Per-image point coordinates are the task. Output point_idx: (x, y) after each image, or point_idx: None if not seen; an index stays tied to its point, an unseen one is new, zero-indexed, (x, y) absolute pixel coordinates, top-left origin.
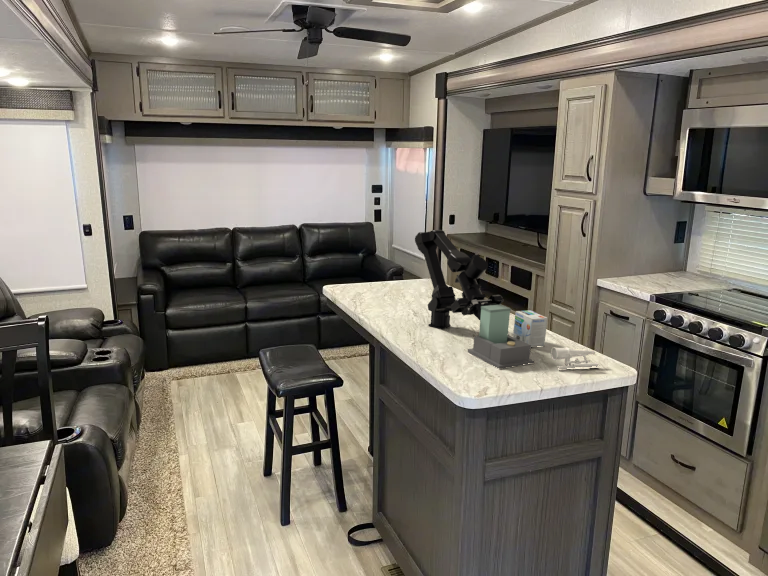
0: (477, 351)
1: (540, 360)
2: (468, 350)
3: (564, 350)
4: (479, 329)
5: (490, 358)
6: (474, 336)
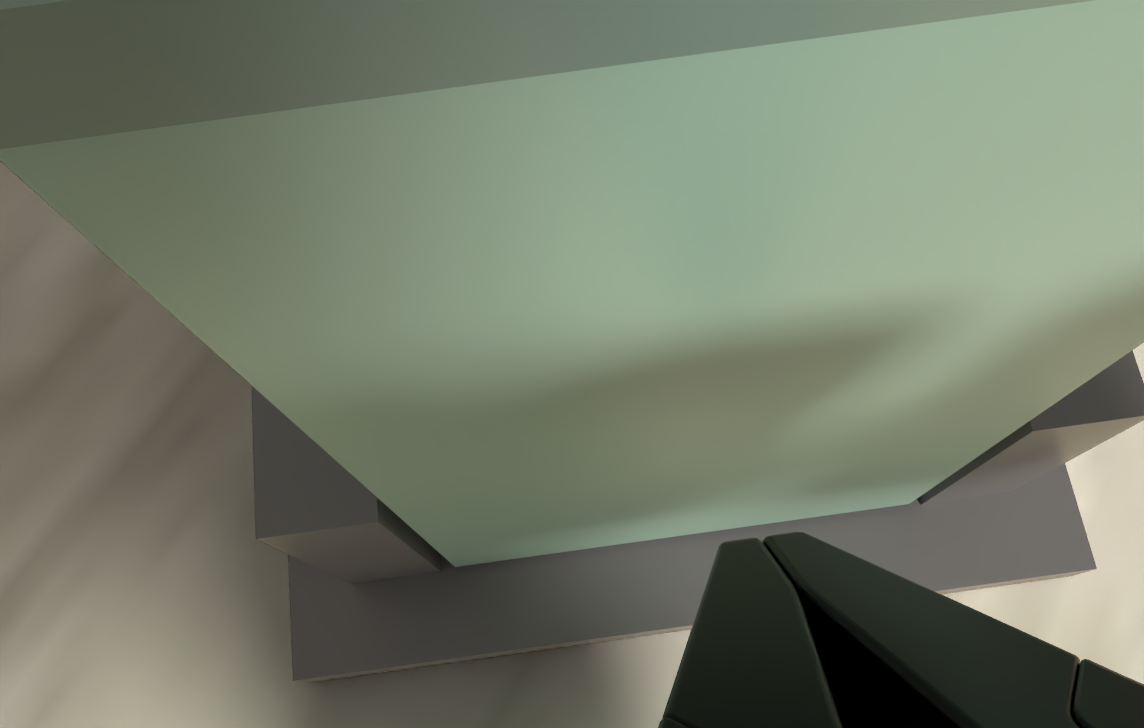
0: None
1: None
2: (1078, 548)
3: None
4: (1078, 383)
5: None
6: (1141, 410)
